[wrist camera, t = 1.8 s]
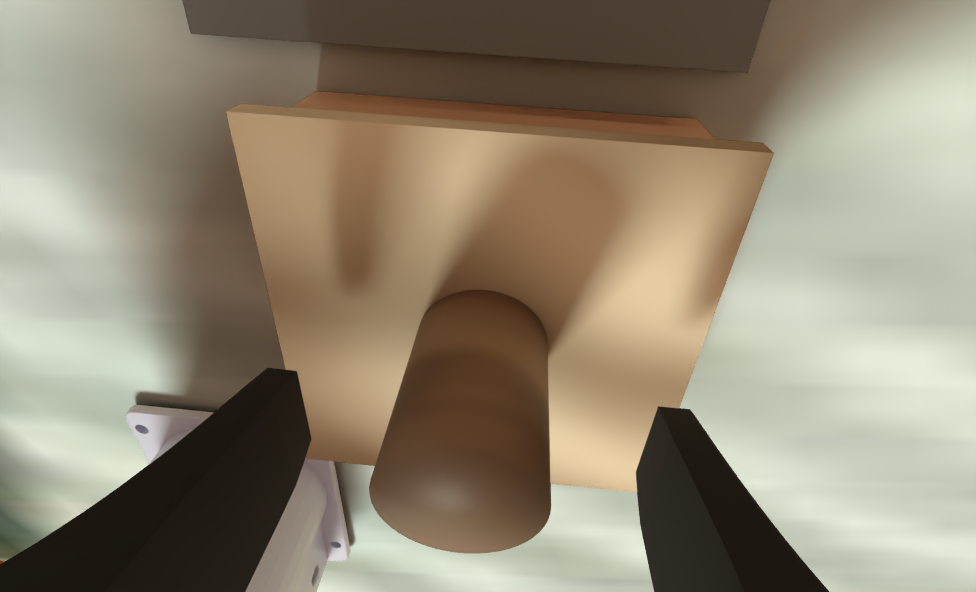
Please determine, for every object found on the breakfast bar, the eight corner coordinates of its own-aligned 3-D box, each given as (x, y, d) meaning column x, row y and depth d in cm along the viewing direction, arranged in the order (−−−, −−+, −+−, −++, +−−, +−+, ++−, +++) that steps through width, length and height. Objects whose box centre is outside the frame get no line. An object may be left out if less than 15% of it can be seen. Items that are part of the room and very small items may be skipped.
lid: (644, 476, 16) (680, 661, 12) (313, 443, 16) (237, 611, 12) (762, 142, 10) (917, 280, 6) (240, 104, 10) (46, 207, 6)
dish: (620, 396, 18) (633, 467, 16) (352, 370, 19) (324, 436, 16) (697, 119, 13) (734, 161, 10) (315, 90, 13) (263, 124, 11)
